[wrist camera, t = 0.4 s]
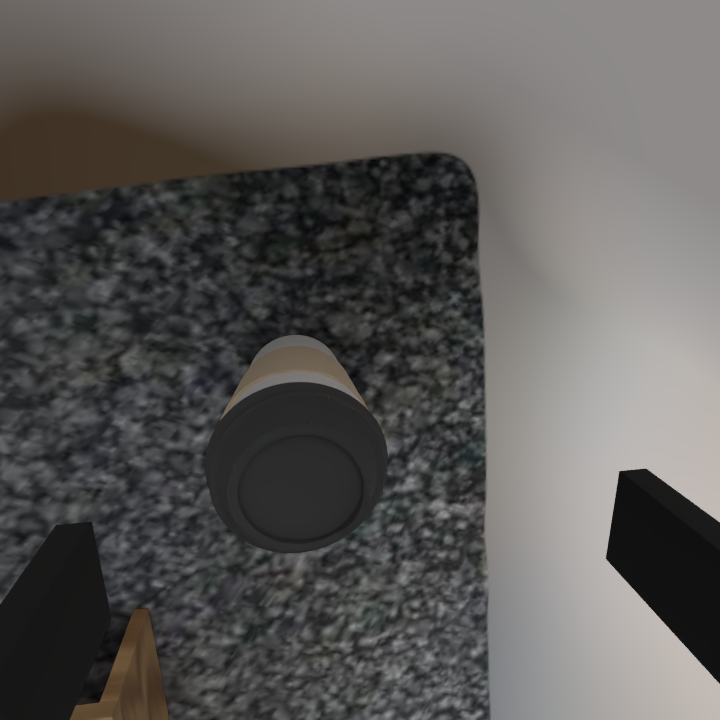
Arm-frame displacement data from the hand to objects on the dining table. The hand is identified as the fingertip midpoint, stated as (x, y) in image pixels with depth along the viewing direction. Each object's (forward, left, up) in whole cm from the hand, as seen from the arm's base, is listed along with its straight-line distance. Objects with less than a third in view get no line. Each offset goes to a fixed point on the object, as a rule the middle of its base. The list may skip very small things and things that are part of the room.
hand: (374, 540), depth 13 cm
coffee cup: (+5, -2, -25) cm, 25 cm away
